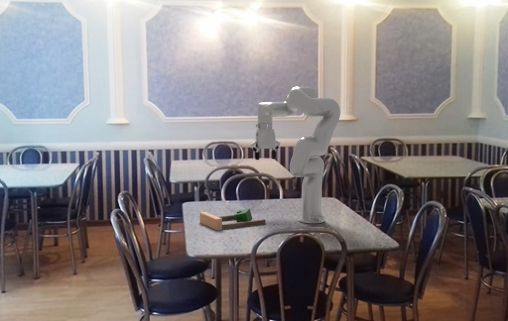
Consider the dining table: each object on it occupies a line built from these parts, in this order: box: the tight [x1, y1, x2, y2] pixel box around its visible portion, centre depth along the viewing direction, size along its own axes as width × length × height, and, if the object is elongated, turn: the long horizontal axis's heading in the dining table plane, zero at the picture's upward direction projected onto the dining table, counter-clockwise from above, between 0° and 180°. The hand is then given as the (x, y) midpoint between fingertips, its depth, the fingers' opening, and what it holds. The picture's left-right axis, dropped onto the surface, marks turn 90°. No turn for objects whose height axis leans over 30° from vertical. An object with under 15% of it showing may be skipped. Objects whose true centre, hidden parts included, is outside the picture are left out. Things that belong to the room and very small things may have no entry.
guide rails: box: [218, 214, 267, 230], centre depth 290 cm, size 18×22×2 cm
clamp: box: [233, 207, 253, 223], centre depth 292 cm, size 12×6×9 cm, turn 165°
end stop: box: [199, 211, 223, 231], centre depth 284 cm, size 18×3×5 cm, turn 29°
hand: (265, 159), depth 319 cm, fingers open, 9 cm apart
